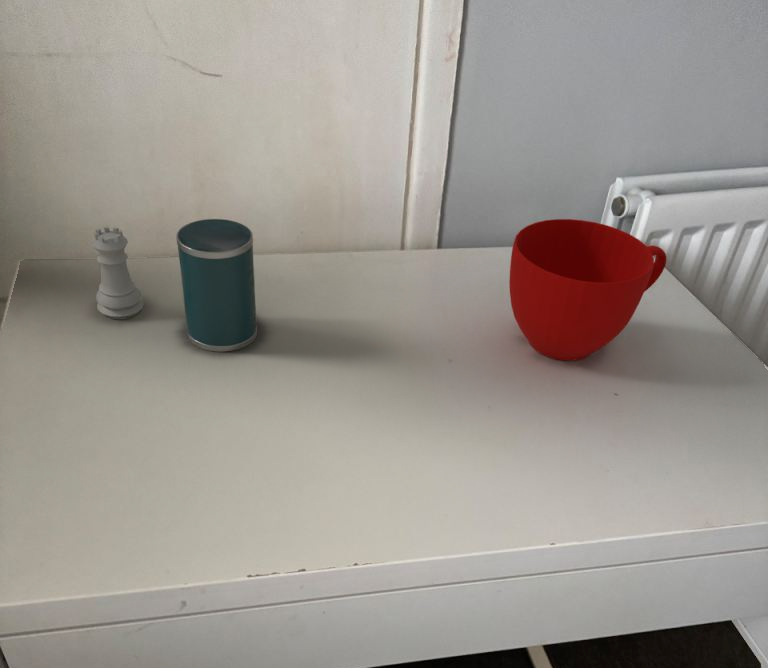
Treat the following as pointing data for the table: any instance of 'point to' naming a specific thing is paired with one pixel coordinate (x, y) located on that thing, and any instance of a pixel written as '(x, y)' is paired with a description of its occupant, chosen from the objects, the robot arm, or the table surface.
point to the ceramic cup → (578, 284)
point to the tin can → (218, 283)
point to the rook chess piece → (115, 277)
